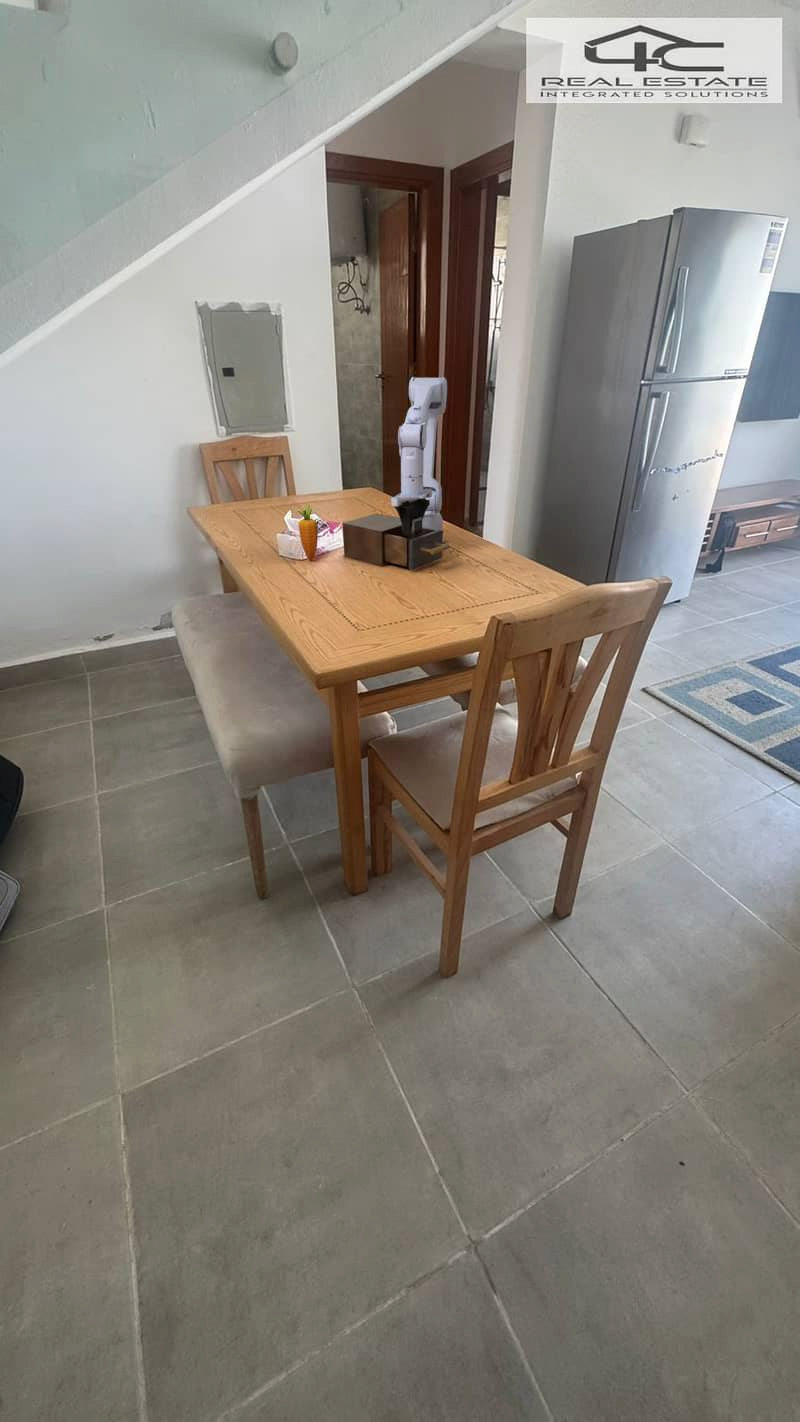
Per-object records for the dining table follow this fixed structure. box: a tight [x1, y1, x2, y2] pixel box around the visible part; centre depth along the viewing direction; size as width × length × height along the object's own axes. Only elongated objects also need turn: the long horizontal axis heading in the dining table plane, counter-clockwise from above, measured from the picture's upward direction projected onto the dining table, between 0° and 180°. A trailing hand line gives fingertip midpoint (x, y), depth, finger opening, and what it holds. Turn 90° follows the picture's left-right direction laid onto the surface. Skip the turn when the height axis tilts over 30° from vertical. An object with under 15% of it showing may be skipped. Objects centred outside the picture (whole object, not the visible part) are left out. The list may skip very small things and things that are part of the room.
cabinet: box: [342, 512, 402, 567], centre depth 170 cm, size 14×14×9 cm
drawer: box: [383, 527, 451, 571], centre depth 163 cm, size 18×13×8 cm
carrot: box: [297, 503, 319, 562], centre depth 164 cm, size 5×5×15 cm
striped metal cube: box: [402, 516, 423, 537], centre depth 161 cm, size 4×4×5 cm
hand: (412, 529), depth 161 cm, fingers closed on striped metal cube, 4 cm apart
